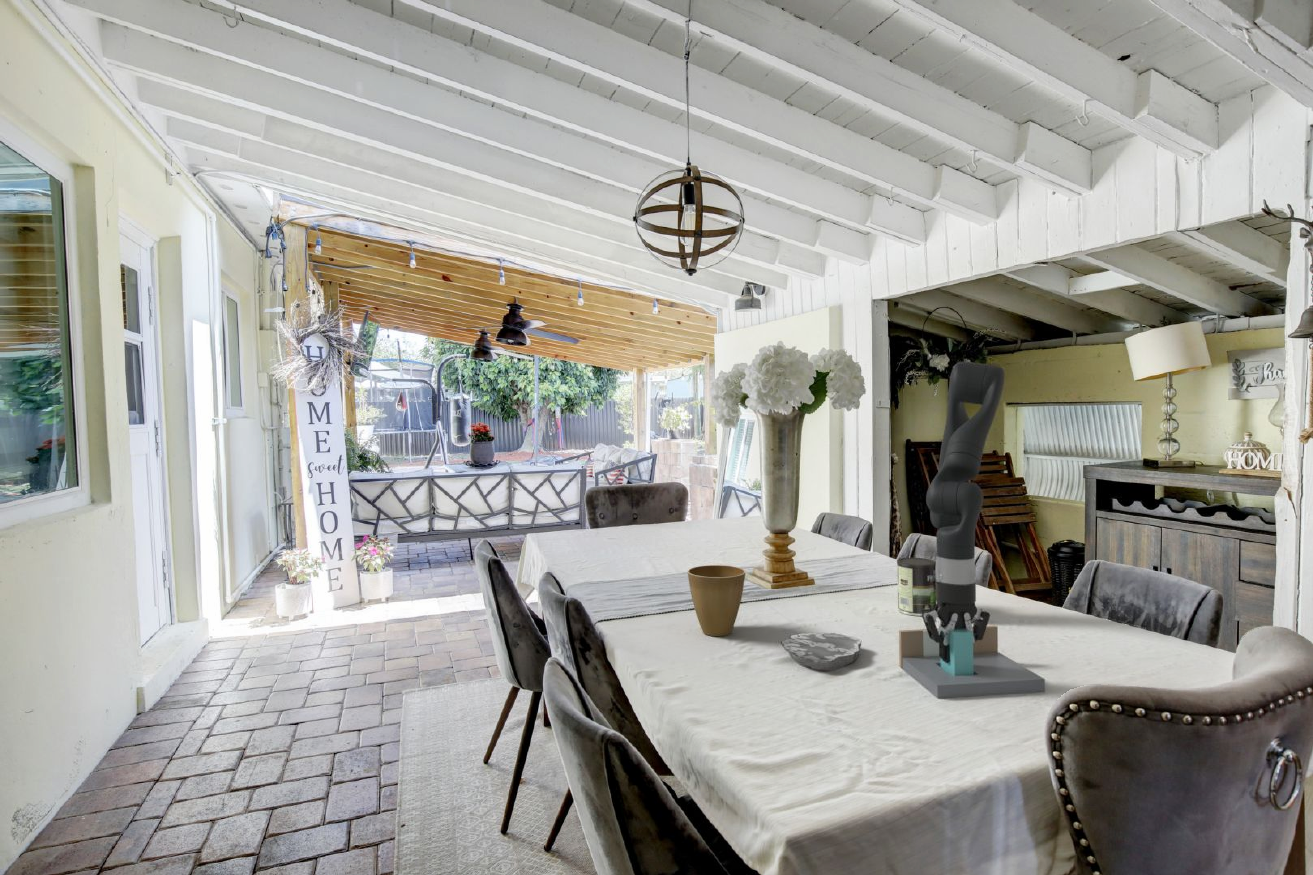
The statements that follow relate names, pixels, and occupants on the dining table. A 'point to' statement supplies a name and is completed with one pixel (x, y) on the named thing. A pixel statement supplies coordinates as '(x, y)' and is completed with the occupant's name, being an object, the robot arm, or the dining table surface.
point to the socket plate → (988, 678)
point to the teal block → (960, 653)
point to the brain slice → (822, 650)
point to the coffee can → (916, 586)
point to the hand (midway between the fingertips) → (956, 660)
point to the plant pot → (716, 596)
